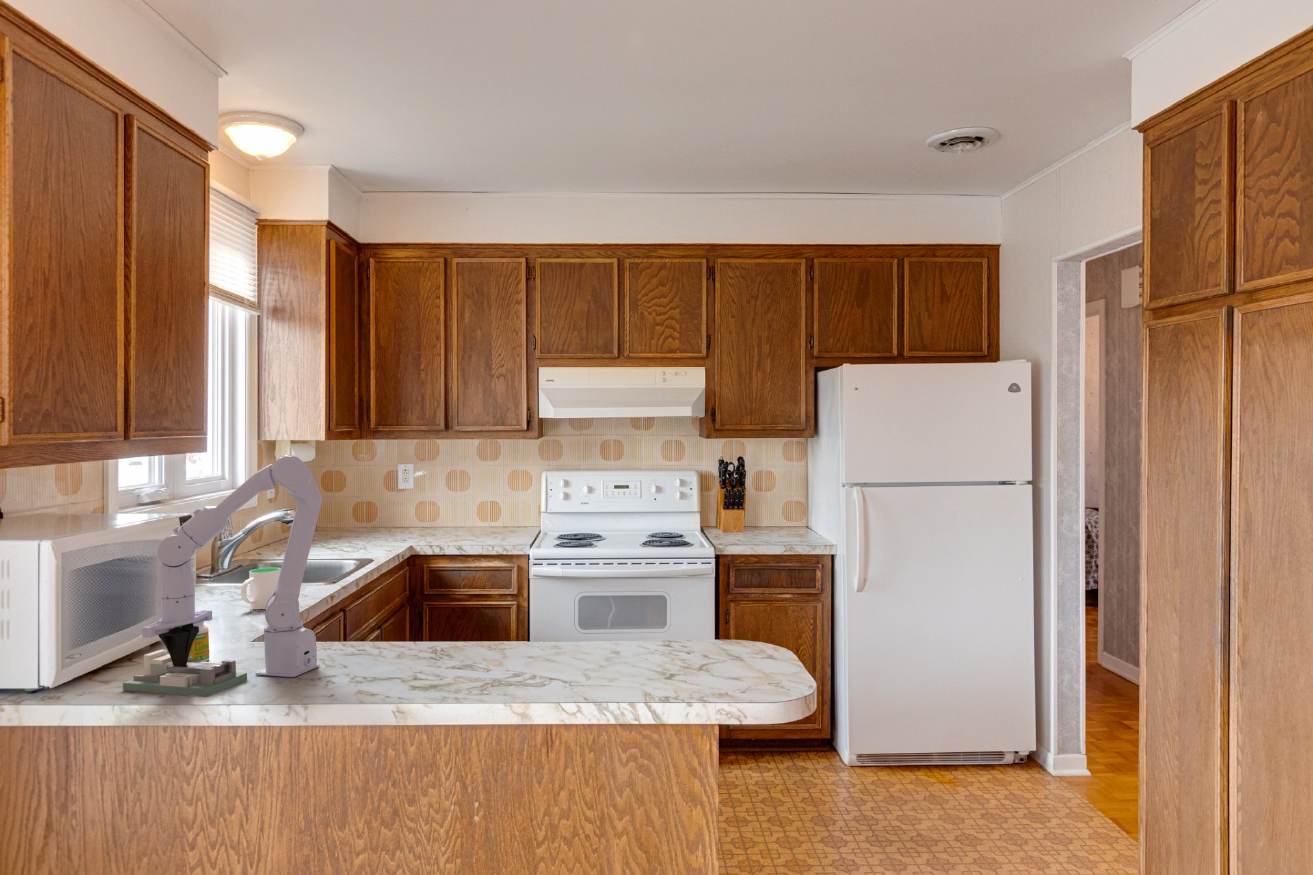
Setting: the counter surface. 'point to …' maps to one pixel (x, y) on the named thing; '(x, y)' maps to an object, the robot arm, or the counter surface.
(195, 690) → the heatsink board
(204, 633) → the supplement bottle
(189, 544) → the robot arm
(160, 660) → the clip
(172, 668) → the strap
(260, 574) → the mug
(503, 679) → the counter surface
